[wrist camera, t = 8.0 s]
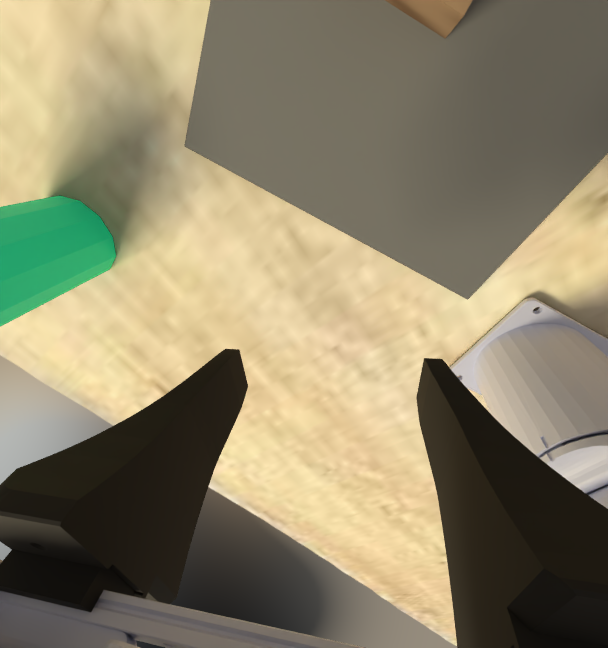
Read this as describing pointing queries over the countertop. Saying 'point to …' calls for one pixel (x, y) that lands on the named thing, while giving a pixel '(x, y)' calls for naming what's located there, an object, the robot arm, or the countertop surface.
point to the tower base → (434, 13)
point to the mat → (409, 119)
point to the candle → (48, 252)
